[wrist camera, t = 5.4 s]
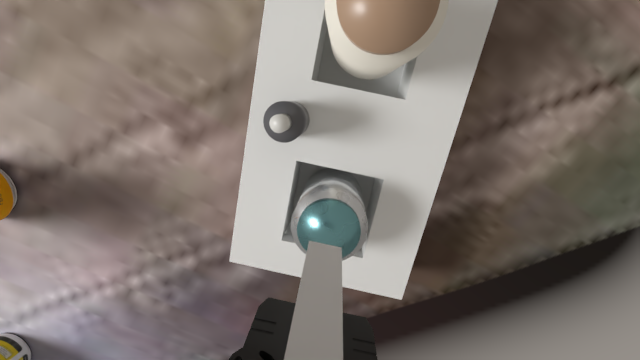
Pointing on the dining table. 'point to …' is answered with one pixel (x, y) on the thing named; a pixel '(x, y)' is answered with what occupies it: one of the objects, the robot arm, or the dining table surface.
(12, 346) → the supplement bottle
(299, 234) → the metal knob
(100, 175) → the dining table surface
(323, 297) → the robot arm
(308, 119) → the pot post
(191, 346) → the dining table surface
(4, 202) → the beer can
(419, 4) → the cream knob
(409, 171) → the mount
